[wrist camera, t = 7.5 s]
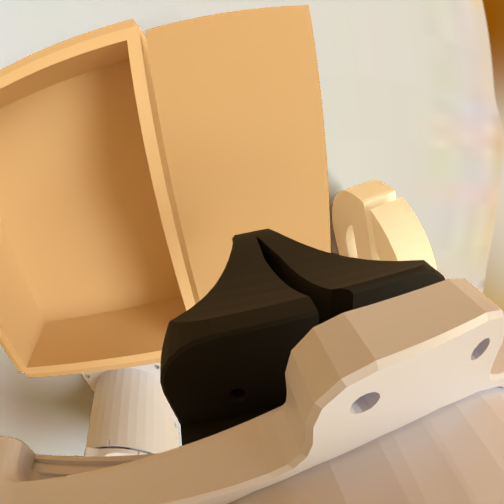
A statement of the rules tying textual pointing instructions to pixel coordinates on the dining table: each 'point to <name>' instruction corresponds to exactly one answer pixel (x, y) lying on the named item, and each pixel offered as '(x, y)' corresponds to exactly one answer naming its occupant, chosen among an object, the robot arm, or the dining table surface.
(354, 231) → the letter
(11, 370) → the dining table surface
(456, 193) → the dining table surface
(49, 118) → the carton
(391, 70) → the dining table surface
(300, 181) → the carton flap
